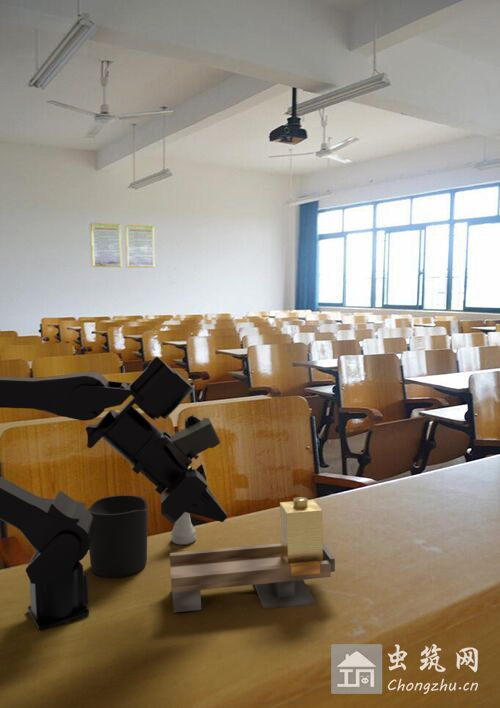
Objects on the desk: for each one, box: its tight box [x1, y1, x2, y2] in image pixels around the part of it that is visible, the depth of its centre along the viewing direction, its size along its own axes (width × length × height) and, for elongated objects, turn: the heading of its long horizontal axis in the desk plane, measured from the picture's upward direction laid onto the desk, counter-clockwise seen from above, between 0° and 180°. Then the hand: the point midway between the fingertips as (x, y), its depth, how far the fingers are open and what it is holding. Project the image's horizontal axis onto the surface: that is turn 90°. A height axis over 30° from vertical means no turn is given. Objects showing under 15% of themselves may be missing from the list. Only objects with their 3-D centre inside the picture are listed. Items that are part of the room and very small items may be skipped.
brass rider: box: [279, 496, 324, 564], centre depth 81 cm, size 5×5×9 cm
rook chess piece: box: [170, 512, 197, 546], centre depth 100 cm, size 4×4×8 cm
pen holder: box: [87, 494, 148, 579], centre depth 90 cm, size 9×9×10 cm
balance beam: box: [169, 542, 336, 613], centre depth 80 cm, size 22×9×6 cm, turn 99°
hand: (224, 518), depth 79 cm, fingers closed
